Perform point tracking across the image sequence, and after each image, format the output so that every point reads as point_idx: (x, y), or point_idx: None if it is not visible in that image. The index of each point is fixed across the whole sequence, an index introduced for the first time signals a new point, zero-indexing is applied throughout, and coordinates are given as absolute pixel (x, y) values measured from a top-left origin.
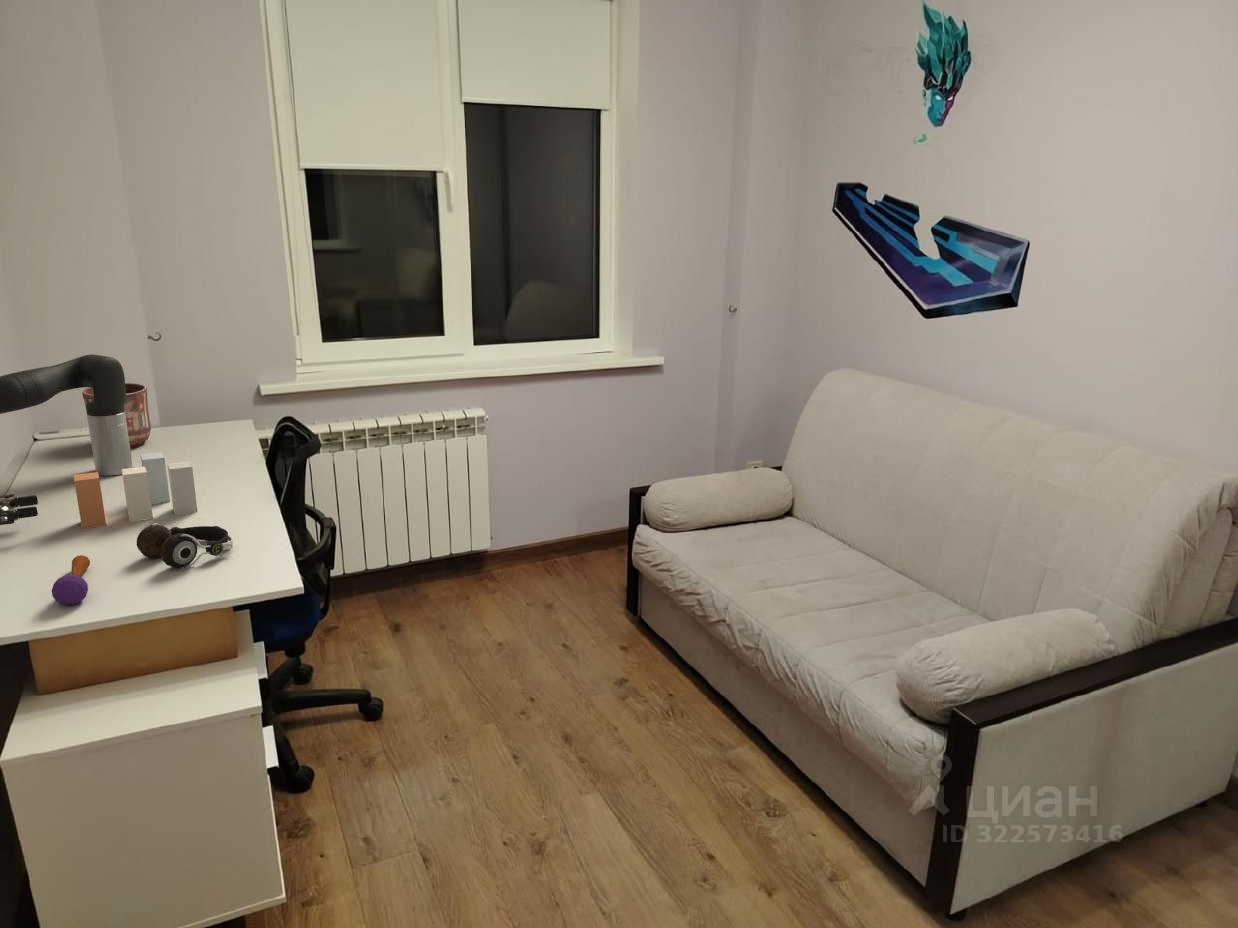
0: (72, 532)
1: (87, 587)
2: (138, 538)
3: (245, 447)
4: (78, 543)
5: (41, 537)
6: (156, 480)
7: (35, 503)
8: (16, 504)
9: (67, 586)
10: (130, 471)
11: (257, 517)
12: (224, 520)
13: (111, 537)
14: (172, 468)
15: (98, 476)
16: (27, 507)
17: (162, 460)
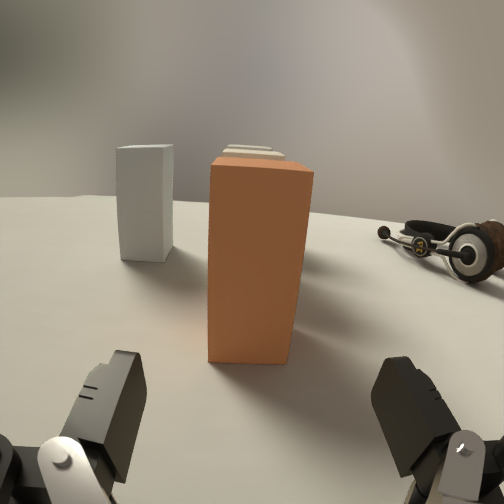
0: (316, 385)
1: None
2: (492, 252)
3: (26, 198)
4: (418, 366)
5: (343, 466)
6: (168, 200)
7: (142, 398)
8: (108, 486)
9: None
10: (257, 152)
11: (318, 217)
12: (320, 230)
13: (380, 317)
14: (268, 148)
15: (277, 160)
16: (411, 386)
17: (172, 151)
